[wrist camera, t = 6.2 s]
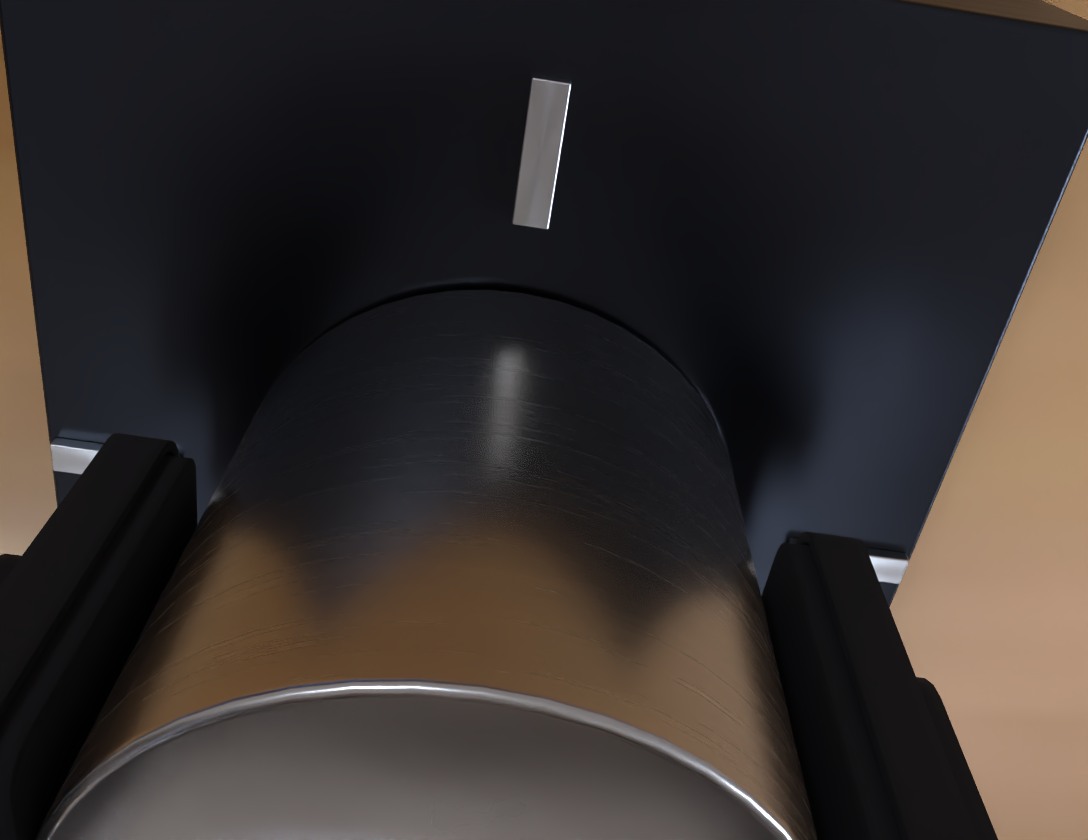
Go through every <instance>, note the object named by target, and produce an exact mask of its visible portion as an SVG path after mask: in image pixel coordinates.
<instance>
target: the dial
mask: <svg viewBox="0 0 1088 840" xmlns="http://www.w3.org/2000/svg"><path fill="white" fill-rule="evenodd" d="M35 840H818V839H817V835H816V831H815V826H814V822H813V818H812V813H811V809H810V805H809V800H808V796H807V792H806V787H805V783H804V779H803V774H802V770H801V766H800V761H799V757H798V753H797V749H796V744H795V740H794V736H793V731H792V727H791V723H790V718H789V714H788V710H787V705H786V701H785V697H784V692H783V688H782V684H781V679H780V675H779V671H778V666H777V662H776V658H775V654H774V649H773V645H772V641H771V636H770V632H769V628H768V623H767V619H766V615H765V610H764V606H763V602H762V597H761V593H760V589H759V584H758V580H757V576H756V572H755V567H754V563H753V559H752V554H751V550H750V546H749V541H748V537H747V533H746V528H745V524H744V520H743V515H742V511H741V507H740V502H739V498H738V494H737V490H736V485H735V481H734V477H733V472H732V468H731V464H730V461H729V457H728V453H727V449H726V445H725V443H724V441H723V438H722V436H721V434H720V431H719V429H718V427H717V424H716V422H715V420H714V418H713V416H712V415H711V413H710V412H709V410H708V408H707V407H706V405H705V404H704V402H703V400H702V399H701V397H700V396H699V394H698V393H697V392H696V390H695V389H694V388H693V387H692V386H691V385H690V383H689V382H688V381H687V380H686V379H685V377H684V376H683V375H682V374H681V373H680V372H679V370H678V369H677V368H675V367H674V366H673V365H672V364H671V363H670V362H669V361H668V360H666V359H665V358H664V357H663V356H662V355H661V354H660V353H658V352H657V351H656V350H655V349H654V348H653V347H651V346H650V345H648V344H647V343H645V342H644V341H642V340H641V339H639V338H638V337H636V336H635V335H633V334H632V333H630V332H629V331H627V330H626V329H624V328H622V327H620V326H618V325H616V324H614V323H612V322H610V321H608V320H606V319H604V318H602V317H600V316H598V315H596V314H594V313H592V312H589V311H586V310H583V309H581V308H578V307H575V306H572V305H569V304H567V303H564V302H561V301H557V300H553V299H548V298H544V297H539V296H535V295H530V294H526V293H518V292H508V291H498V290H451V291H445V292H438V293H431V294H424V295H417V296H413V297H409V298H406V299H402V300H398V301H395V302H391V303H388V304H384V305H381V306H379V307H376V308H374V309H372V310H369V311H367V312H364V313H362V314H360V315H357V316H355V317H353V318H350V319H349V320H347V321H345V322H344V323H342V324H340V325H339V326H337V327H335V328H334V329H332V330H330V331H329V332H327V333H325V334H323V335H322V336H321V337H320V338H318V339H317V340H316V341H315V342H313V343H312V344H311V345H310V346H308V347H307V348H306V349H305V350H303V351H302V352H301V353H300V354H298V355H297V357H296V358H295V359H294V360H293V361H292V362H291V363H290V364H289V365H288V366H287V367H286V369H285V370H284V371H283V372H282V373H281V374H280V375H279V376H278V377H277V379H276V380H275V382H274V383H273V385H272V386H271V388H270V389H269V391H268V392H267V394H266V395H265V397H264V399H263V400H262V402H261V404H260V405H259V407H258V409H257V411H256V413H255V415H254V417H253V419H252V421H251V423H250V425H249V427H248V429H247V430H246V432H245V434H244V436H243V438H242V440H241V442H240V444H239V446H238V448H237V450H236V452H235V454H234V455H233V457H232V459H231V461H230V463H229V465H228V467H227V469H226V471H225V473H224V475H223V477H222V479H221V480H220V482H219V484H218V486H217V488H216V490H215V492H214V494H213V496H212V498H211V500H210V502H209V504H208V505H207V507H206V509H205V511H204V513H203V515H202V517H201V519H200V521H199V523H198V525H197V527H196V529H195V530H194V532H193V534H192V536H191V538H190V540H189V542H188V544H187V546H186V548H185V550H184V552H183V554H182V555H181V557H180V559H179V561H178V563H177V565H176V567H175V569H174V571H173V573H172V575H171V577H170V579H169V580H168V582H167V584H166V586H165V588H164V590H163V592H162V594H161V596H160V598H159V600H158V602H157V604H156V605H155V607H154V609H153V611H152V613H151V615H150V617H149V619H148V621H147V623H146V625H145V627H144V629H143V630H142V632H141V634H140V636H139V638H138V640H137V642H136V644H135V646H134V648H133V650H132V652H131V654H130V655H129V657H128V659H127V661H126V663H125V665H124V667H123V669H122V671H121V673H120V675H119V677H118V679H117V680H116V682H115V684H114V686H113V688H112V690H111V692H110V694H109V696H108V698H107V700H106V702H105V704H104V705H103V707H102V709H101V711H100V713H99V715H98V717H97V719H96V721H95V723H94V725H93V727H92V729H91V730H90V732H89V734H88V736H87V738H86V740H85V742H84V744H83V746H82V748H81V750H80V752H79V754H78V756H77V757H76V759H75V761H74V763H73V765H72V767H71V769H70V771H69V773H68V775H67V777H66V779H65V781H64V782H63V784H62V786H61V788H60V790H59V792H58V794H57V796H56V798H55V800H54V802H53V804H52V806H51V807H50V809H49V811H48V813H47V815H46V817H45V819H44V821H43V823H42V825H41V828H40V830H39V832H38V835H37V837H36V839H35Z"/></svg>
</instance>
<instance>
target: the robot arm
mask: <svg viewBox="0 0 1088 840" xmlns="http://www.w3.org/2000/svg"><path fill="white" fill-rule="evenodd" d="M196 527H197V481H196V465H195V462H194V460H193V459H192V458H186V457H179V454H178V448H177V445H176V443H175V442H173V441H171V440H164V439H157V438H150V437H143V436H136V435H129V434H122V433H115V434H112V435H111V436H110V437H109V438H108V439H107V440H106V442H105V443H104V444H103V446H102V447H101V448H100V450H99V451H98V453H97V454H96V455H95V457H94V458H93V459H92V461H91V462H90V463H89V465H88V466H87V468H86V469H85V470H84V472H83V473H82V474H81V476H80V477H79V479H78V480H77V481H76V483H75V484H74V485H73V487H72V488H71V490H70V491H69V492H68V494H67V495H66V496H65V498H64V499H63V501H62V502H61V503H60V505H59V506H58V507H57V509H56V510H55V512H54V513H53V514H52V516H51V517H50V518H49V520H48V521H47V523H46V524H45V525H44V527H43V528H42V529H41V531H40V532H39V534H38V535H37V536H36V538H35V539H34V540H33V542H32V543H31V544H30V546H29V547H28V549H27V550H26V551H25V553H24V554H23V555H22V556H19V555H11V554H3V555H0V840H35V839H36V837H37V835H38V832H39V830H40V828H41V825H42V823H43V821H44V819H45V817H46V815H47V813H48V811H49V809H50V807H51V806H52V804H53V802H54V800H55V798H56V796H57V794H58V792H59V790H60V788H61V786H62V784H63V782H64V781H65V779H66V777H67V775H68V773H69V771H70V769H71V767H72V765H73V763H74V761H75V759H76V757H77V756H78V754H79V752H80V750H81V748H82V746H83V744H84V742H85V740H86V738H87V736H88V734H89V732H90V730H91V729H92V727H93V725H94V723H95V721H96V719H97V717H98V715H99V713H100V711H101V709H102V707H103V705H104V704H105V702H106V700H107V698H108V696H109V694H110V692H111V690H112V688H113V686H114V684H115V682H116V680H117V679H118V677H119V675H120V673H121V671H122V669H123V667H124V665H125V663H126V661H127V659H128V657H129V655H130V654H131V652H132V650H133V648H134V646H135V644H136V642H137V640H138V638H139V636H140V634H141V632H142V630H143V629H144V627H145V625H146V623H147V621H148V619H149V617H150V615H151V613H152V611H153V609H154V607H155V605H156V604H157V602H158V600H159V598H160V596H161V594H162V592H163V590H164V588H165V586H166V584H167V582H168V580H169V579H170V577H171V575H172V573H173V571H174V569H175V567H176V565H177V563H178V561H179V559H180V557H181V555H182V554H183V552H184V550H185V548H186V546H187V544H188V542H189V540H190V538H191V536H192V534H193V532H194V530H195V529H196ZM761 597H762V602H763V606H764V610H765V615H766V619H767V623H768V628H769V632H770V636H771V641H772V645H773V649H774V654H775V658H776V662H777V666H778V671H779V675H780V679H781V684H782V688H783V692H784V697H785V701H786V705H787V710H788V714H789V718H790V723H791V727H792V731H793V736H794V740H795V744H796V749H797V753H798V757H799V761H800V766H801V770H802V774H803V779H804V783H805V787H806V792H807V796H808V800H809V805H810V809H811V813H812V818H813V822H814V826H815V831H816V835H817V839H818V840H998V838H997V836H996V833H995V831H994V828H993V826H992V824H991V821H990V819H989V816H988V814H987V811H986V809H985V806H984V804H983V801H982V799H981V796H980V794H979V791H978V789H977V786H976V784H975V781H974V779H973V777H972V774H971V772H970V769H969V767H968V764H967V762H966V759H965V757H964V754H963V752H962V749H961V747H960V744H959V742H958V739H957V737H956V734H955V732H954V729H953V727H952V725H951V722H950V720H949V717H948V715H947V712H946V710H945V707H944V705H943V702H942V700H941V697H940V696H939V694H938V692H937V690H936V689H935V687H934V685H933V684H932V683H930V682H929V681H928V680H926V679H925V678H919V677H916V676H915V673H914V671H913V668H912V666H911V663H910V660H909V658H908V655H907V653H906V650H905V647H904V645H903V642H902V640H901V637H900V635H899V632H898V629H897V627H896V624H895V622H894V619H893V616H892V614H891V611H890V609H889V606H888V603H887V601H886V598H885V596H884V593H883V590H882V588H881V585H880V583H879V580H878V577H877V575H876V572H875V570H874V567H873V564H872V562H871V559H870V557H869V554H868V551H867V549H866V547H865V545H864V543H863V542H862V541H861V540H859V539H857V538H850V537H843V536H836V535H829V534H822V533H815V532H808V531H806V532H804V533H802V534H801V535H800V537H799V538H798V540H797V542H796V544H791V543H782V544H781V545H780V547H779V548H778V550H777V553H776V555H775V558H774V561H773V564H772V567H771V570H770V572H769V575H768V578H767V581H766V584H765V587H764V590H763V593H762V596H761Z"/></svg>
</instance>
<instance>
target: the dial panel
mask: <svg viewBox="0 0 1088 840" xmlns="http://www.w3.org/2000/svg"><path fill="white" fill-rule="evenodd" d="M0 27H1V35H2V44H3V52H4V60H5V69H6V77H7V86H8V94H9V103H10V111H11V120H12V128H13V136H14V145H15V153H16V162H17V170H18V179H19V187H20V196H21V204H22V212H23V221H24V229H25V238H26V246H27V255H28V263H29V272H30V280H31V289H32V297H33V305H34V314H35V322H36V331H37V339H38V348H39V356H40V365H41V373H42V381H43V390H44V398H45V407H46V415H47V424H48V432H49V441H50V449H51V457H52V466H53V474H54V483H55V491H56V500H57V507H58V506H59V505H60V503H61V502H62V501H63V499H64V498H65V496H66V495H67V494H68V492H69V491H70V490H71V488H72V487H73V485H74V484H75V483H76V481H77V480H78V479H79V477H80V476H81V474H82V473H83V472H84V470H85V469H86V468H87V466H88V465H89V463H90V462H91V461H92V459H93V458H94V457H95V455H96V454H97V453H98V451H99V450H100V448H101V447H102V446H103V444H104V443H105V442H106V440H107V439H108V438H109V437H110V436H111V435H112V434H115V433H122V434H129V435H136V436H143V437H150V438H157V439H164V440H171V441H173V442H175V443H176V445H177V448H178V454H179V457H186V458H192V459H193V460H194V462H195V465H196V481H197V525H198V523H199V521H200V519H201V517H202V515H203V513H204V511H205V509H206V507H207V505H208V504H209V502H210V500H211V498H212V496H213V494H214V492H215V490H216V488H217V486H218V484H219V482H220V480H221V479H222V477H223V475H224V473H225V471H226V469H227V467H228V465H229V463H230V461H231V459H232V457H233V455H234V454H235V452H236V450H237V448H238V446H239V444H240V442H241V440H242V438H243V436H244V434H245V432H246V430H247V429H248V427H249V425H250V423H251V421H252V419H253V417H254V415H255V413H256V411H257V409H258V407H259V405H260V404H261V402H262V400H263V399H264V397H265V395H266V394H267V392H268V391H269V389H270V388H271V386H272V385H273V383H274V382H275V380H276V379H277V377H278V376H279V375H280V374H281V373H282V372H283V371H284V370H285V369H286V367H287V366H288V365H289V364H290V363H291V362H292V361H293V360H294V359H295V358H296V357H297V355H298V354H300V353H301V352H302V351H303V350H305V349H306V348H307V347H308V346H310V345H311V344H312V343H313V342H315V341H316V340H317V339H318V338H320V337H321V336H322V335H323V334H325V333H327V332H329V331H330V330H332V329H334V328H335V327H337V326H339V325H340V324H342V323H344V322H345V321H347V320H349V319H350V318H353V317H355V316H357V315H360V314H362V313H364V312H367V311H369V310H372V309H374V308H376V307H379V306H381V305H384V304H388V303H391V302H395V301H398V300H402V299H406V298H409V297H413V296H417V295H424V294H431V293H438V292H445V291H451V290H498V291H508V292H518V293H526V294H530V295H535V296H539V297H544V298H548V299H553V300H557V301H561V302H564V303H567V304H569V305H572V306H575V307H578V308H581V309H583V310H586V311H589V312H592V313H594V314H596V315H598V316H600V317H602V318H604V319H606V320H608V321H610V322H612V323H614V324H616V325H618V326H620V327H622V328H624V329H626V330H627V331H629V332H630V333H632V334H633V335H635V336H636V337H638V338H639V339H641V340H642V341H644V342H645V343H647V344H648V345H650V346H651V347H653V348H654V349H655V350H656V351H657V352H658V353H660V354H661V355H662V356H663V357H664V358H665V359H666V360H668V361H669V362H670V363H671V364H672V365H673V366H674V367H675V368H677V369H678V370H679V372H680V373H681V374H682V375H683V376H684V377H685V379H686V380H687V381H688V382H689V383H690V385H691V386H692V387H693V388H694V389H695V390H696V392H697V393H698V394H699V396H700V397H701V399H702V400H703V402H704V404H705V405H706V407H707V408H708V410H709V412H710V413H711V415H712V416H713V418H714V420H715V422H716V424H717V427H718V429H719V431H720V434H721V436H722V438H723V441H724V443H725V445H726V449H727V453H728V457H729V461H730V464H731V468H732V472H733V477H734V481H735V485H736V490H737V494H738V498H739V502H740V507H741V511H742V515H743V520H744V524H745V528H746V533H747V537H748V541H749V546H750V550H751V554H752V559H753V563H754V567H755V572H756V576H757V580H758V584H759V589H760V593H761V596H762V593H763V590H764V587H765V584H766V581H767V578H768V575H769V572H770V570H771V567H772V564H773V561H774V558H775V555H776V553H777V550H778V548H779V547H780V545H781V544H782V543H791V544H796V542H797V540H798V538H799V537H800V535H801V534H802V533H804V532H806V531H808V532H815V533H822V534H829V535H836V536H843V537H850V538H857V539H859V540H861V541H862V542H863V543H864V545H865V547H866V549H867V551H868V554H869V557H870V559H871V562H872V564H873V567H874V570H875V572H876V575H877V577H878V580H879V583H880V585H881V588H882V590H883V593H884V596H885V598H886V601H887V603H888V606H889V607H890V604H891V602H892V600H893V597H894V595H895V593H896V590H897V588H898V586H899V584H900V582H901V579H902V577H903V575H904V572H905V570H906V568H907V565H908V563H909V559H910V557H911V555H912V552H913V550H914V548H915V545H916V543H917V540H918V538H919V536H920V533H921V531H922V529H923V526H924V524H925V521H926V519H927V517H928V514H929V512H930V510H931V507H932V505H933V502H934V500H935V498H936V495H937V493H938V491H939V488H940V486H941V483H942V481H943V479H944V476H945V474H946V472H947V469H948V467H949V464H950V462H951V460H952V457H953V455H954V453H955V450H956V448H957V445H958V443H959V441H960V438H961V436H962V434H963V431H964V429H965V427H966V424H967V422H968V419H969V417H970V415H971V412H972V410H973V408H974V405H975V403H976V400H977V398H978V396H979V393H980V391H981V389H982V386H983V384H984V381H985V379H986V377H987V374H988V372H989V370H990V367H991V365H992V362H993V360H994V358H995V355H996V353H997V351H998V348H999V346H1000V343H1001V341H1002V339H1003V336H1004V334H1005V332H1006V329H1007V327H1008V324H1009V322H1010V320H1011V317H1012V315H1013V313H1014V310H1015V308H1016V305H1017V303H1018V301H1019V298H1020V296H1021V294H1022V291H1023V289H1024V286H1025V284H1026V282H1027V279H1028V277H1029V275H1030V272H1031V270H1032V267H1033V265H1034V263H1035V260H1036V258H1037V256H1038V253H1039V251H1040V249H1041V246H1042V244H1043V241H1044V239H1045V237H1046V234H1047V232H1048V230H1049V227H1050V225H1051V222H1052V220H1053V218H1054V215H1055V213H1056V211H1057V208H1058V206H1059V203H1060V201H1061V199H1062V196H1063V194H1064V192H1065V189H1066V187H1067V184H1068V182H1069V180H1070V177H1071V175H1072V173H1073V170H1074V168H1075V165H1076V163H1077V161H1078V158H1079V156H1080V154H1081V151H1082V149H1083V146H1084V144H1085V142H1086V139H1087V137H1088V20H1085V19H1083V18H1081V17H1078V16H1076V15H1074V14H1072V13H1069V12H1067V11H1065V10H1062V9H1060V8H1058V7H1056V6H1053V5H1051V4H1049V3H1046V2H1044V1H1042V0H0Z"/></svg>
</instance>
